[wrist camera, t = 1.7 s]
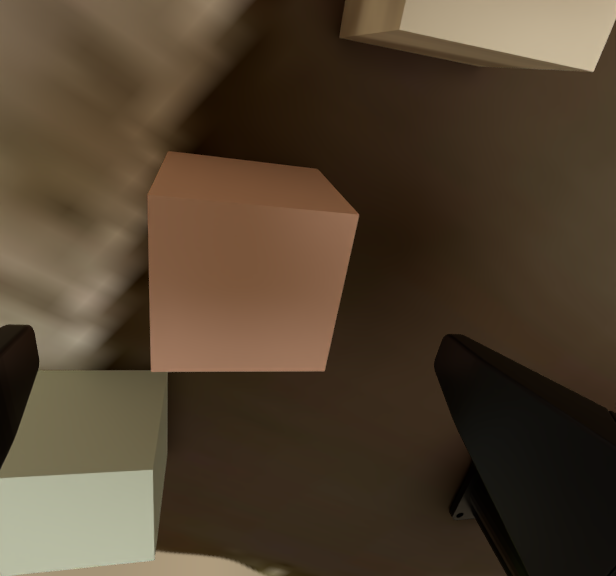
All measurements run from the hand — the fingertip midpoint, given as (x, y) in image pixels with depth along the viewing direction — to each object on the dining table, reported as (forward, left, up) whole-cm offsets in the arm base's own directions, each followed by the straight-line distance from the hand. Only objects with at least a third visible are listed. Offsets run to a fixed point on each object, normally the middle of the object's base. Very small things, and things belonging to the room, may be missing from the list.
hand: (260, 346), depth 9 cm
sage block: (-9, +5, -7) cm, 12 cm away
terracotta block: (0, 0, -7) cm, 7 cm away
